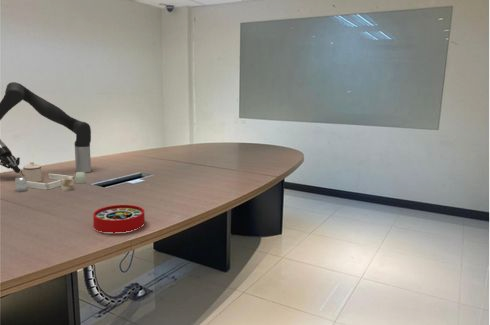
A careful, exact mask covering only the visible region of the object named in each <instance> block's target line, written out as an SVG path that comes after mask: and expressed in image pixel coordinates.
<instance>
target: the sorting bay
mask: <svg viewBox="0 0 490 325" xmlns="http://www.w3.org/2000/svg"><path fill="white" fill-rule="evenodd" d="M47 175H48V179H49V180H55V181H52V182H51V181H50V182H48V183H44V182H30V181H27V188H31V189H38V190H45V191H48V190H51V189H54V188H55V189H56V188H58V187H61V180H60V179H61V178H72V179H73V183H74V182H76V175H75V176H73V175H65V174H58V173H57V174H56V173H48V174H47Z"/></svg>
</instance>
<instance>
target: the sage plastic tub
mask: <svg viewBox="0 0 490 325" xmlns="http://www.w3.org/2000/svg"><path fill="white" fill-rule="evenodd" d="M85 183H86V173H85V172H76V171H75V184H77V185H79V184H80V185H81V184H85Z"/></svg>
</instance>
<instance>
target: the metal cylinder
mask: <svg viewBox="0 0 490 325" xmlns="http://www.w3.org/2000/svg"><path fill="white" fill-rule="evenodd" d="M14 181H15V191H16V192H17V193H23V192H27V191H28V187H27V180H26V177H22V176H17V177H15V178H14Z"/></svg>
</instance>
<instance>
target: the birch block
mask: <svg viewBox="0 0 490 325" xmlns="http://www.w3.org/2000/svg"><path fill="white" fill-rule="evenodd" d="M60 180H61V186H60V190H62V191H63V192H68V191H74V182H73V179H72V178H61V179H60Z"/></svg>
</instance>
